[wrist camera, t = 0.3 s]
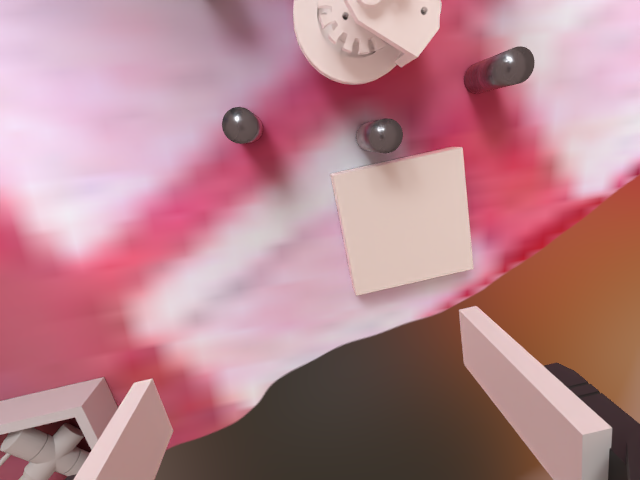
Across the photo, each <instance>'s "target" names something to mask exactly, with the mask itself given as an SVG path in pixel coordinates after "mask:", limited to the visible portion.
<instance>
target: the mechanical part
mask: <svg viewBox="0 0 640 480" xmlns="http://www.w3.org/2000/svg"><path fill="white" fill-rule="evenodd" d="M441 5H442V3H441V0H294V8H293V22H294V31H295V35H296V38H297V41H298V45H299V47H300V49H301V51H302V53H303V55H304V56H305V58H306V59H307V60H308V62H309V63H310V64H311V66H313V67H314V68H315V69H316V70H317V71H318V72H319V73H320V74H322V75H323V76H325V77H327V78H329V79H330V80H333V81H336V82H339V83H342V84H350V85H356V84H365V83H368V82H371V81H374V80H376V79H378V78H380V77H382V76H383V75H385V74H387V73H388V72H389V71H391V70H392V69H393V68H394V67H395V66H396V65H399V66H400V67H403V66H404V65H406V64H407V63H409V62H411V61H412V60H414V59H416V58H417V57H418V56H419V55H420V54H421V52H422V51H423V50H424V48H425V47H426V46H427V44H428V43H429V42H430V40H431V39H432V38H433V36H434V35H435V34H436V32H437V31H438V30H439V28H440V13H441Z"/></svg>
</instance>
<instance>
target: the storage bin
mask: <svg viewBox="0 0 640 480" xmlns="http://www.w3.org/2000/svg"><path fill="white" fill-rule="evenodd" d="M117 409H118V407H117V405H116V402H115V400H114V398H113V396H112V394H111V391H110V389H109V387H108V385H107V383H106V380H105V378H104V377H102V378H98V379H93V380H89V381H85V382H80V383H76V384H72V385H67V386H63V387H59V388H54V389H50V390H46V391H42V392H37V393H33V394H29V395H24V396H20V397H16V398H11V399H7V400H3V401H0V435H2V434H6V433H10V432H15V431H19V430H23V429H27V428H32V427H36V426H40V425H44V424H49V423H53V422H57V421H62V420H66V419H70V418H74V417H75V418H76V420H77V422H78V424H79V426H80V428H81V430H82V432H83V434H84V436H85V438H86V440H87V442H88V444H89V446H90V448H91V450H92V449H93V447H94V446H95V444H96V443H97V441H98V439H99V438H100V436H101V435H102V433H103V432H104V430H105V428H106V427H107V425H108V424H109V422H110V420H111V419H112V417H113V416H114V414H115V412H116V411H117Z"/></svg>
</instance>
